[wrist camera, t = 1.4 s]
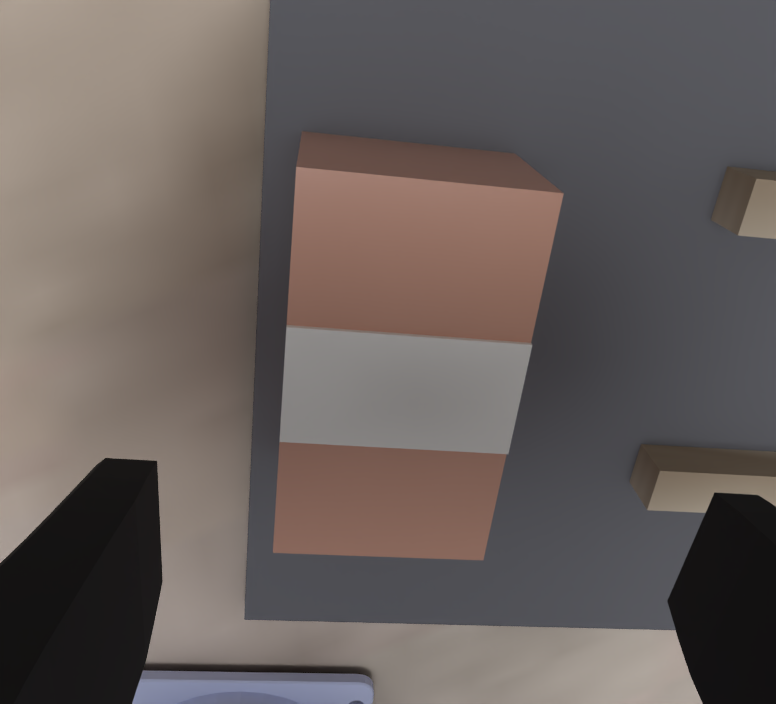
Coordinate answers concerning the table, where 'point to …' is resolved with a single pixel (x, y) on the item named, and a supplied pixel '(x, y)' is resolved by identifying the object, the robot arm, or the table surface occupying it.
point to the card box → (405, 343)
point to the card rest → (712, 465)
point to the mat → (548, 282)
